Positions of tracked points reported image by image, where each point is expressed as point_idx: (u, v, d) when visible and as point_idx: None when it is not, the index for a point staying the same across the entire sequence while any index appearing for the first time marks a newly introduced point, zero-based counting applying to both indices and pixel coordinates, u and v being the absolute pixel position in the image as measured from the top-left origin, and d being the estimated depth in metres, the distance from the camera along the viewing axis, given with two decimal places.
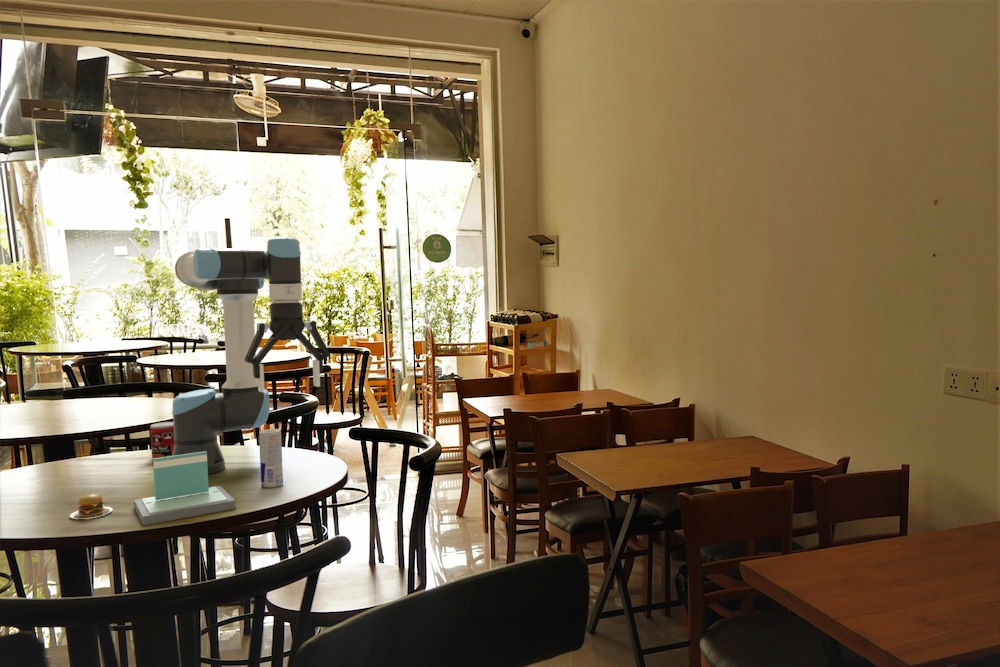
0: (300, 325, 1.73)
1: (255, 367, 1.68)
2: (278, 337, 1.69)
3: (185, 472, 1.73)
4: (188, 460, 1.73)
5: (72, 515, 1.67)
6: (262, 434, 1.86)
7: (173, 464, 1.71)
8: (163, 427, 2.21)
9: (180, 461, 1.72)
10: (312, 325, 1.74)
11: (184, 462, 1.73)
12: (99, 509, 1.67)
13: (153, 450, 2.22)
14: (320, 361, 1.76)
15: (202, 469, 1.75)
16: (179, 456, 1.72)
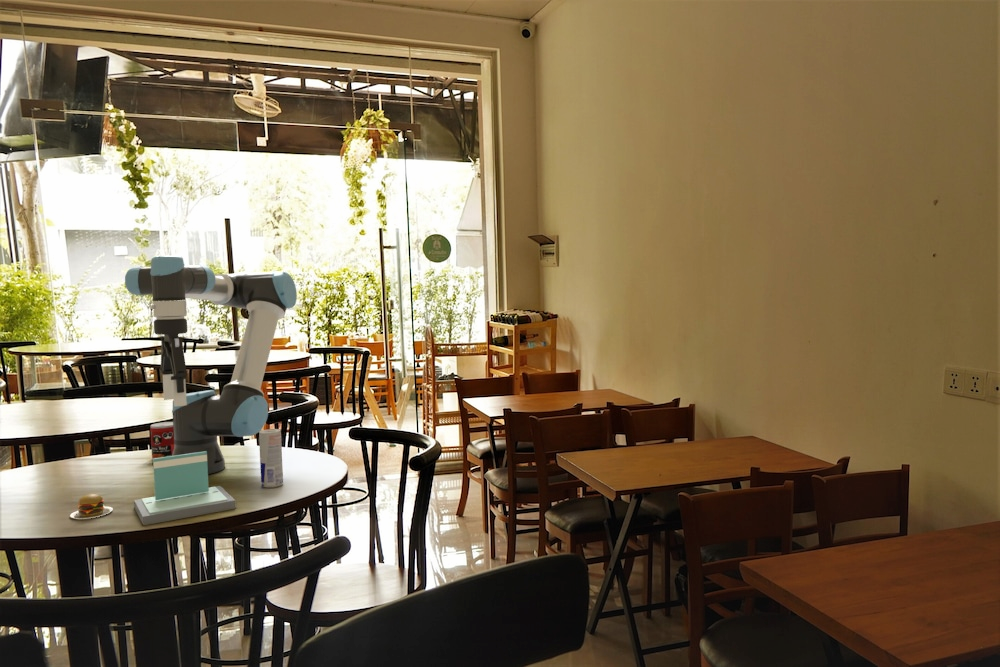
0: (169, 342, 1.74)
1: None
2: (162, 351, 1.78)
3: (185, 472, 1.73)
4: (188, 460, 1.73)
5: (72, 515, 1.67)
6: (262, 434, 1.86)
7: (173, 464, 1.71)
8: (163, 427, 2.21)
9: (180, 461, 1.72)
10: (171, 343, 1.72)
11: (184, 462, 1.73)
12: (99, 509, 1.67)
13: (153, 450, 2.22)
14: (176, 381, 1.71)
15: (202, 469, 1.75)
16: (179, 456, 1.72)
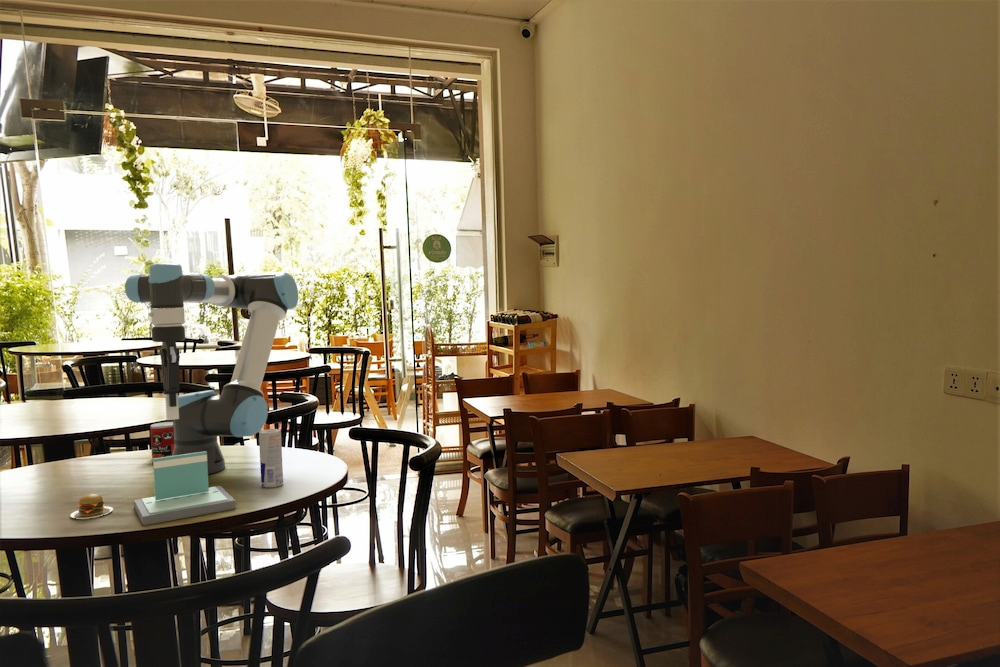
0: (166, 349, 1.74)
1: None
2: (161, 361, 1.77)
3: (185, 472, 1.73)
4: (188, 460, 1.73)
5: (72, 514, 1.67)
6: (262, 434, 1.86)
7: (173, 464, 1.71)
8: (163, 427, 2.21)
9: (180, 461, 1.72)
10: (167, 358, 1.72)
11: (184, 462, 1.73)
12: (99, 509, 1.68)
13: (153, 450, 2.22)
14: (169, 395, 1.76)
15: (202, 469, 1.75)
16: (179, 456, 1.72)
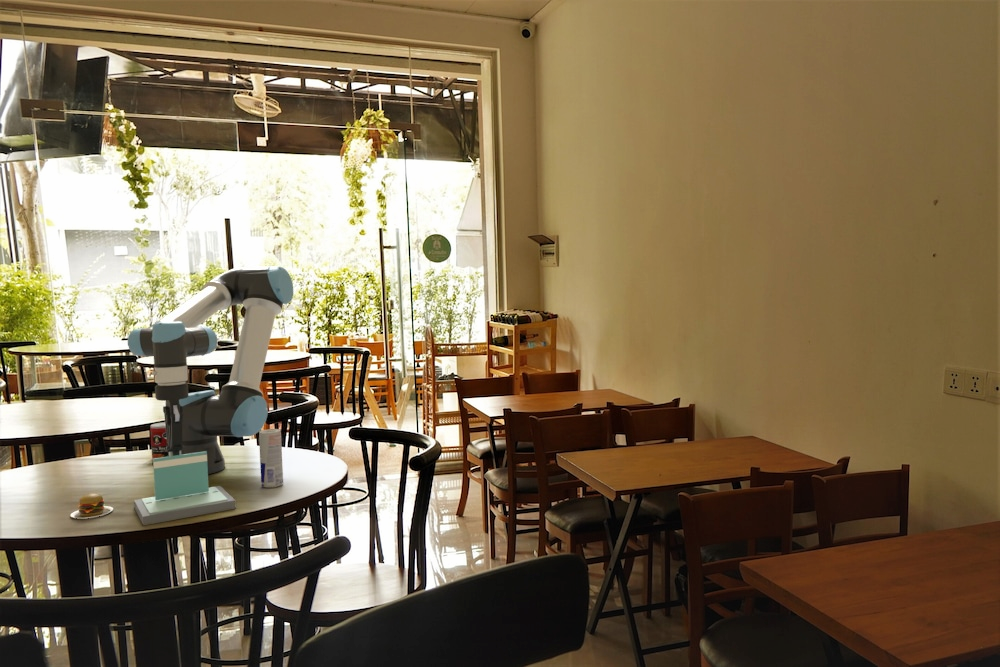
0: (169, 407, 1.75)
1: None
2: (165, 418, 1.78)
3: (185, 472, 1.73)
4: (188, 460, 1.73)
5: (73, 514, 1.67)
6: (262, 434, 1.86)
7: (173, 464, 1.71)
8: (163, 427, 2.21)
9: (180, 461, 1.72)
10: (171, 417, 1.73)
11: (184, 462, 1.73)
12: (99, 509, 1.68)
13: (153, 450, 2.22)
14: (172, 453, 1.77)
15: (202, 469, 1.75)
16: (179, 456, 1.72)
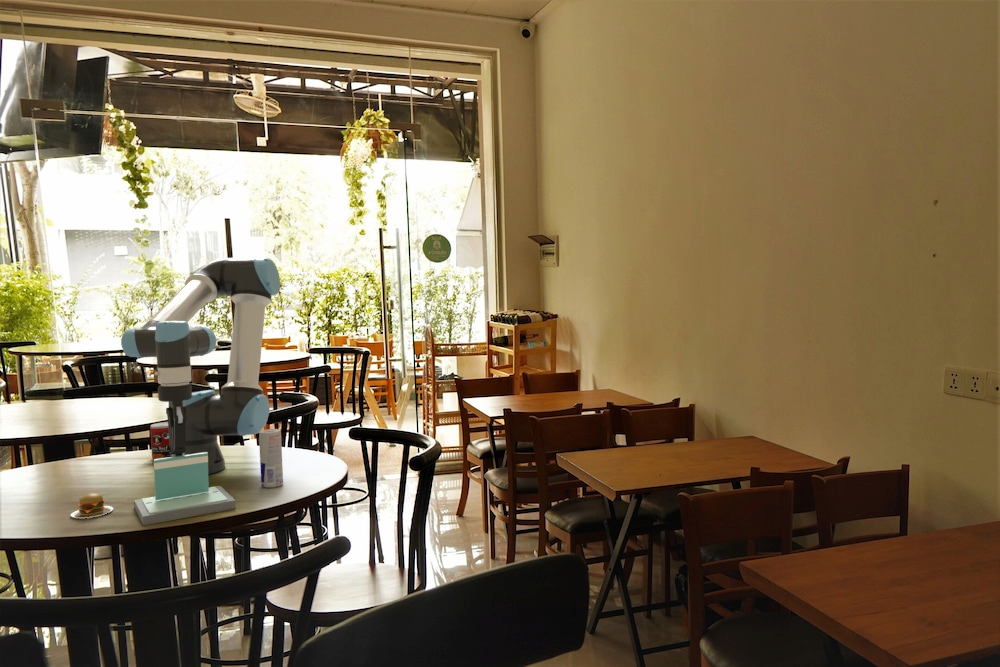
0: (172, 409, 1.70)
1: None
2: (168, 420, 1.74)
3: (186, 473, 1.72)
4: (189, 461, 1.72)
5: (73, 514, 1.68)
6: (262, 434, 1.86)
7: (174, 465, 1.70)
8: (163, 427, 2.21)
9: (181, 462, 1.71)
10: (174, 418, 1.69)
11: (185, 463, 1.72)
12: (99, 508, 1.68)
13: (153, 450, 2.22)
14: (175, 455, 1.73)
15: (203, 470, 1.74)
16: (180, 457, 1.71)
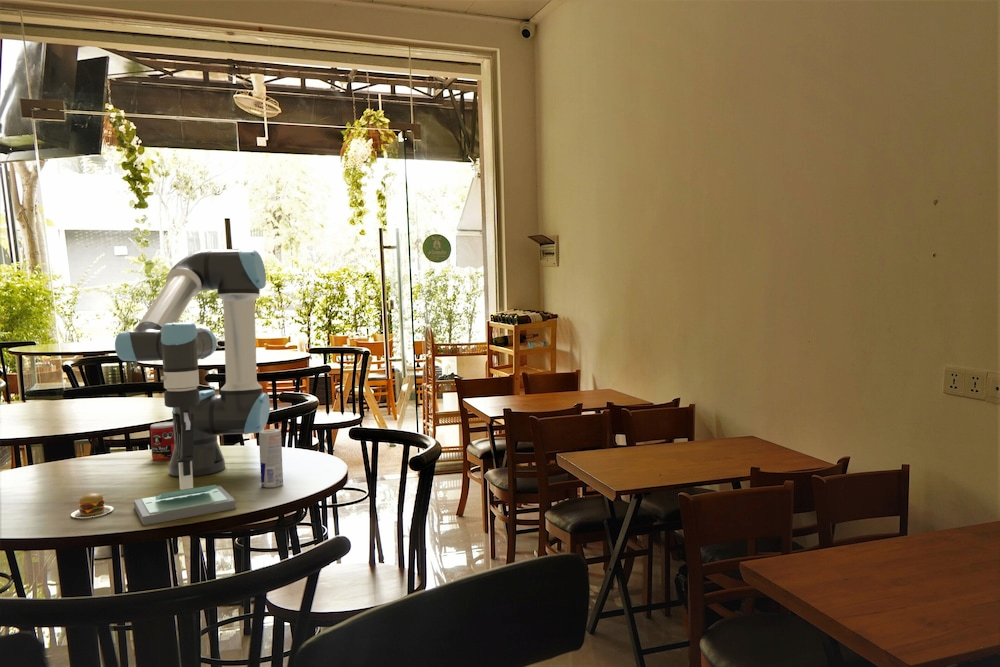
0: (180, 415, 1.63)
1: None
2: (174, 426, 1.66)
3: (190, 493, 1.69)
4: (196, 491, 1.67)
5: (73, 514, 1.68)
6: (262, 434, 1.86)
7: (180, 494, 1.65)
8: (163, 427, 2.21)
9: (188, 493, 1.66)
10: None
11: (191, 492, 1.67)
12: (99, 508, 1.68)
13: (153, 450, 2.22)
14: (183, 463, 1.65)
15: (207, 490, 1.71)
16: (188, 492, 1.65)
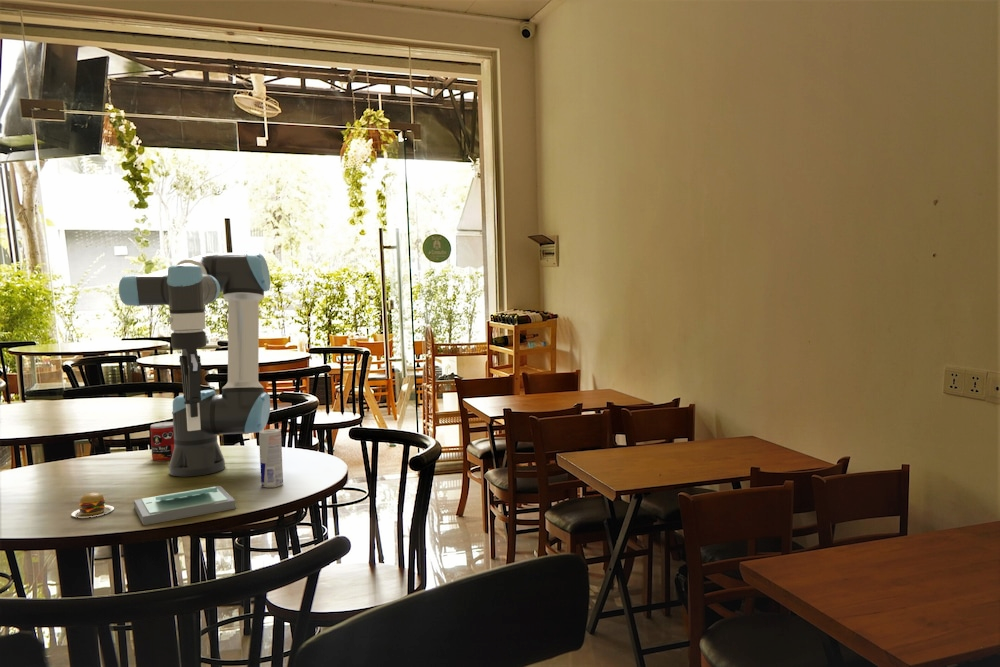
0: (186, 356, 1.64)
1: None
2: (181, 368, 1.67)
3: None
4: None
5: (74, 513, 1.68)
6: (262, 434, 1.86)
7: None
8: (163, 427, 2.21)
9: None
10: (188, 366, 1.62)
11: None
12: (100, 508, 1.68)
13: (153, 450, 2.22)
14: (190, 405, 1.66)
15: None
16: (188, 495, 1.65)
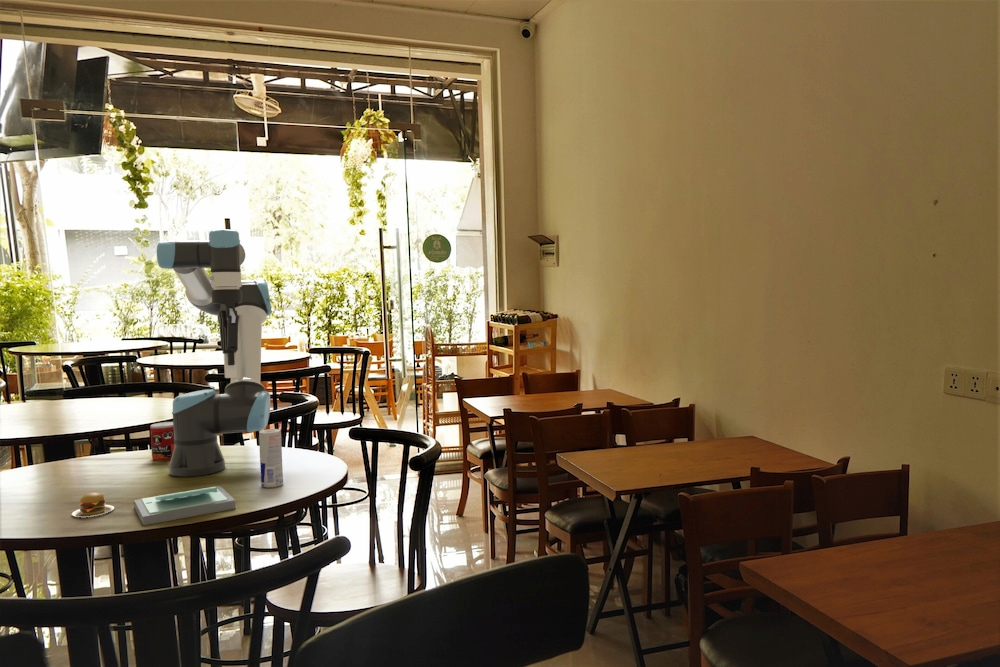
0: (225, 310, 1.84)
1: None
2: (220, 322, 1.88)
3: None
4: None
5: (74, 513, 1.69)
6: (262, 434, 1.86)
7: None
8: (163, 427, 2.21)
9: None
10: (227, 318, 1.83)
11: None
12: (100, 507, 1.68)
13: (153, 450, 2.22)
14: (228, 354, 1.87)
15: None
16: (188, 495, 1.65)
